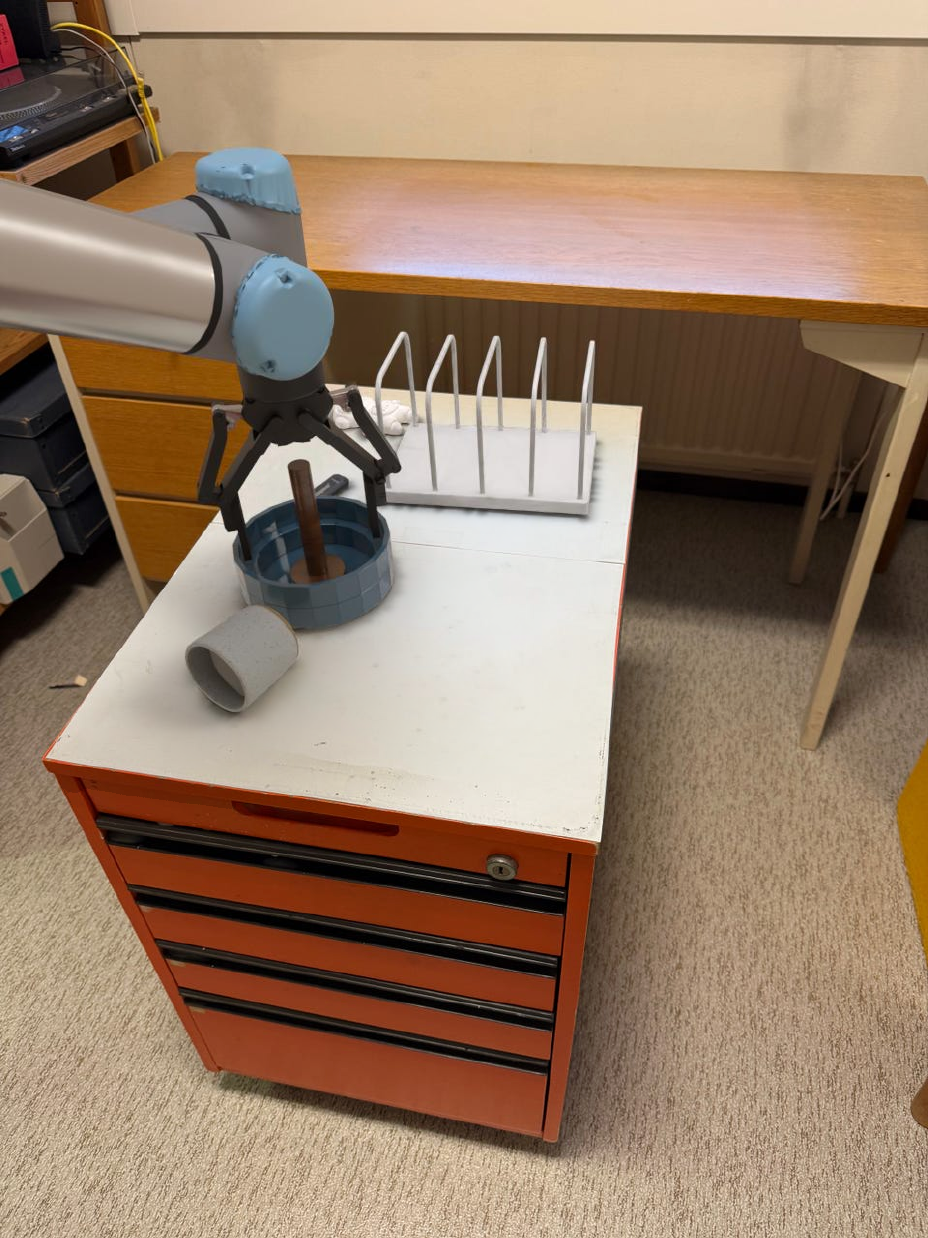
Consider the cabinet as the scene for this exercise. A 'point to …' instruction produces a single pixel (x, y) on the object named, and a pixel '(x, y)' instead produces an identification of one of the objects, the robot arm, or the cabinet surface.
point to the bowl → (342, 537)
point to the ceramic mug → (242, 656)
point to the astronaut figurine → (390, 411)
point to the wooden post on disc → (310, 531)
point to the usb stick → (332, 485)
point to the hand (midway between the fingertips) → (311, 542)
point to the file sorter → (492, 449)
